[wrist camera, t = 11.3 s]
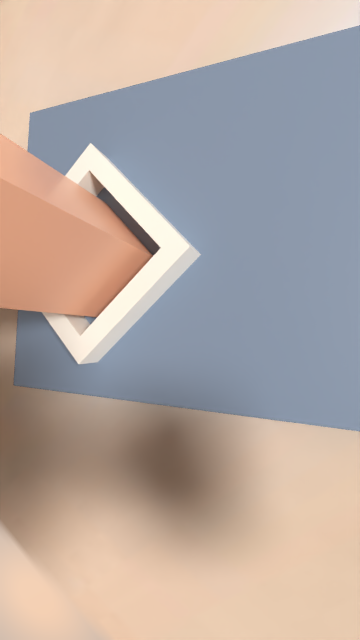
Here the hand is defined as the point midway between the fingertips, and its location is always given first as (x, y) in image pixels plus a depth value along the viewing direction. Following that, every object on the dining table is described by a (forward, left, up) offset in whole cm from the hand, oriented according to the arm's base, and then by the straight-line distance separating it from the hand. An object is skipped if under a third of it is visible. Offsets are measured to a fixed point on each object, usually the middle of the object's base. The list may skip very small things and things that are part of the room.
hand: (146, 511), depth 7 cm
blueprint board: (+9, +3, -10) cm, 13 cm away
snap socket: (+8, +8, -9) cm, 14 cm away
